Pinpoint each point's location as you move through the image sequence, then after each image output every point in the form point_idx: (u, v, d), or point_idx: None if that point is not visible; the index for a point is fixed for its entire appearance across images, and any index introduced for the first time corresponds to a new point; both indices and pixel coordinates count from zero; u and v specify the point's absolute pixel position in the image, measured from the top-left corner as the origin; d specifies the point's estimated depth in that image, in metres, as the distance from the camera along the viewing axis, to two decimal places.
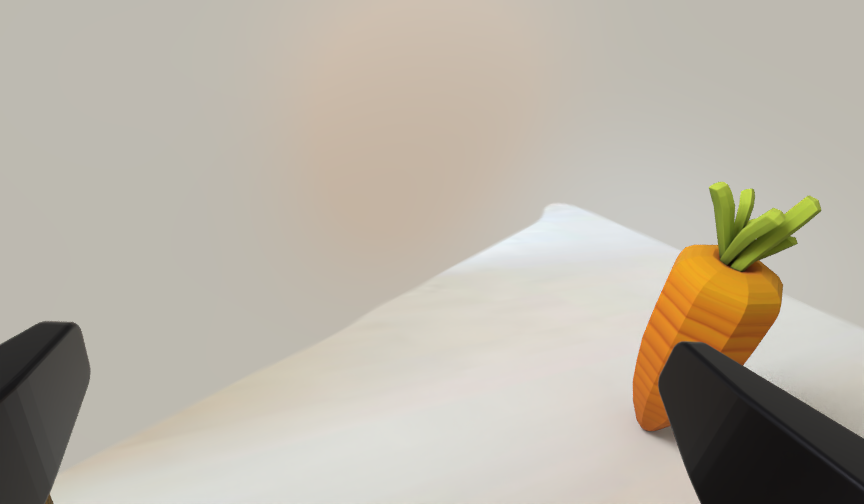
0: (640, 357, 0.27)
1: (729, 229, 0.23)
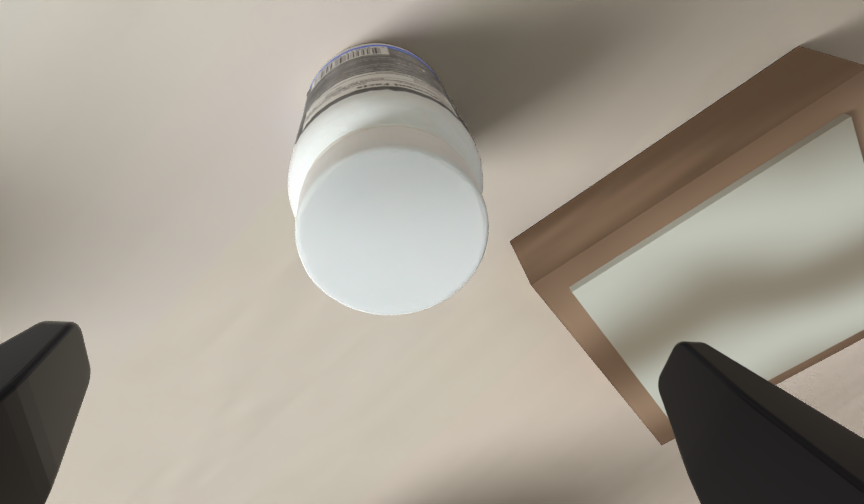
0: None
1: None
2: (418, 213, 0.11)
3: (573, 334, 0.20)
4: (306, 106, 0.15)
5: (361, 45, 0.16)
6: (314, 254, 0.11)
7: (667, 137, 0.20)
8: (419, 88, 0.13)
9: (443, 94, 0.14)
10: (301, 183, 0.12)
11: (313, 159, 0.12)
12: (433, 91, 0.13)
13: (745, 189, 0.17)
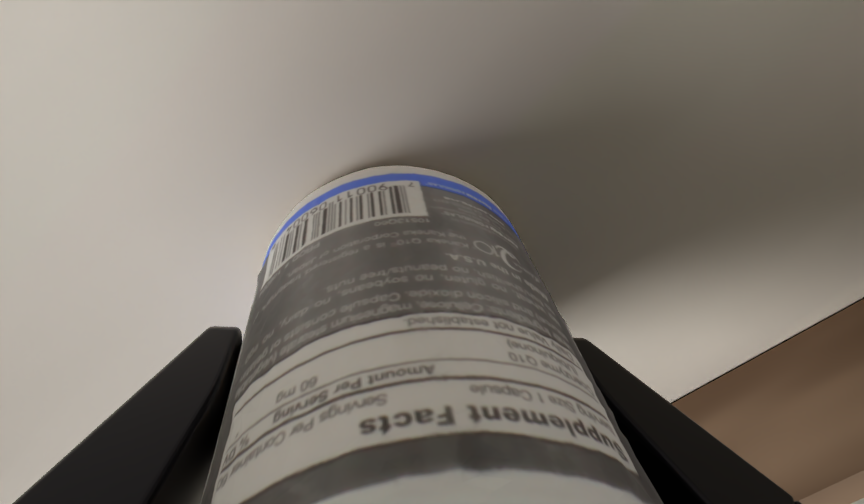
0: None
1: None
2: None
3: None
4: (245, 346, 0.07)
5: (367, 174, 0.08)
6: None
7: None
8: (534, 402, 0.05)
9: (564, 341, 0.06)
10: None
11: None
12: (559, 378, 0.05)
13: None
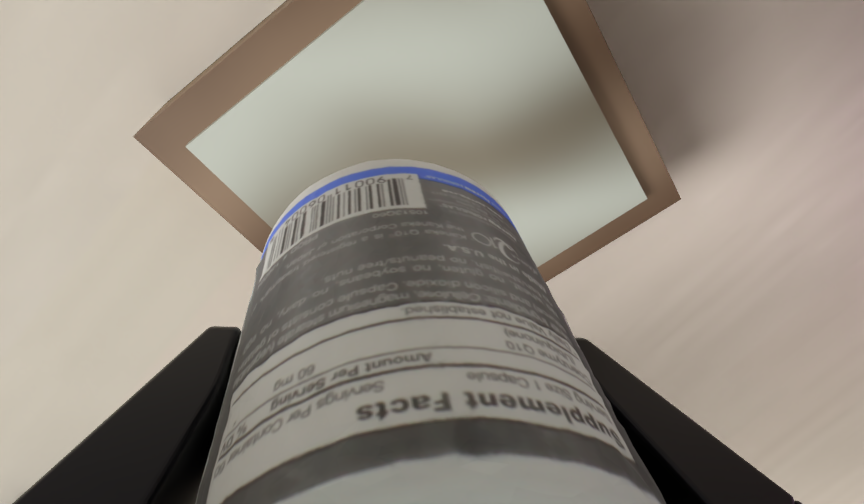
0: None
1: None
2: None
3: (221, 213, 0.16)
4: (244, 337, 0.07)
5: (365, 167, 0.08)
6: None
7: None
8: (531, 389, 0.05)
9: (561, 332, 0.06)
10: None
11: None
12: (556, 367, 0.05)
13: (375, 4, 0.13)
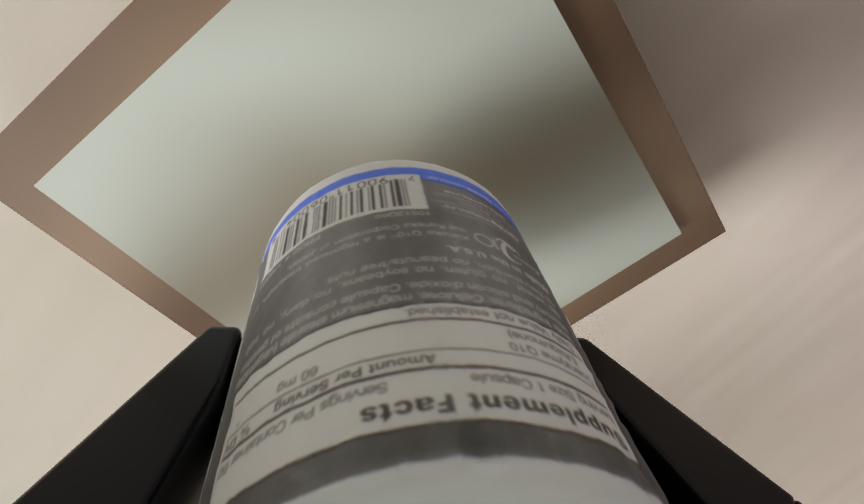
0: None
1: None
2: None
3: (103, 269, 0.12)
4: (246, 338, 0.07)
5: (367, 168, 0.08)
6: None
7: None
8: (534, 391, 0.05)
9: (564, 333, 0.06)
10: None
11: None
12: (559, 368, 0.05)
13: None
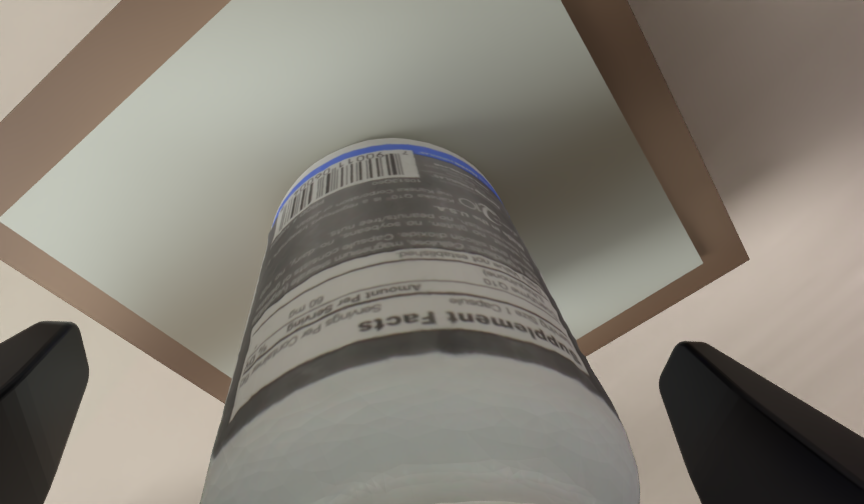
0: None
1: None
2: None
3: (78, 306, 0.11)
4: (259, 287, 0.07)
5: (366, 145, 0.09)
6: None
7: None
8: (502, 313, 0.05)
9: (534, 279, 0.07)
10: None
11: None
12: (526, 301, 0.06)
13: None
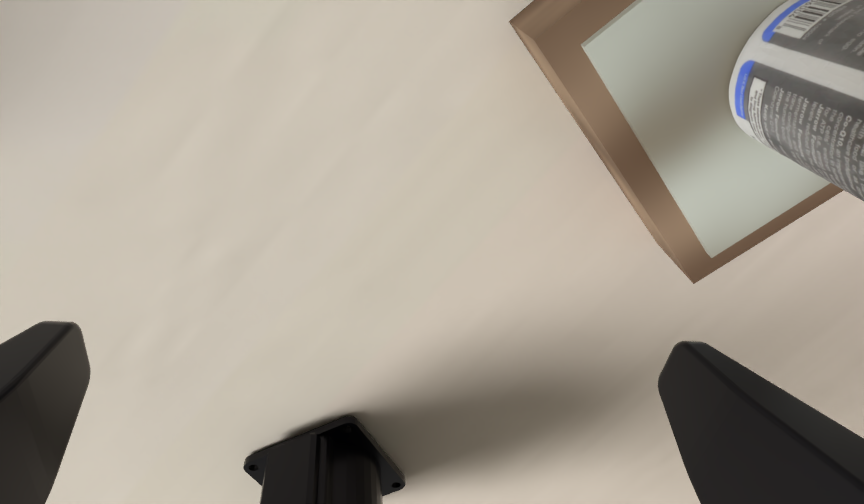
0: None
1: None
2: None
3: (587, 117, 0.17)
4: (825, 51, 0.13)
5: None
6: None
7: None
8: None
9: None
10: None
11: None
12: None
13: None
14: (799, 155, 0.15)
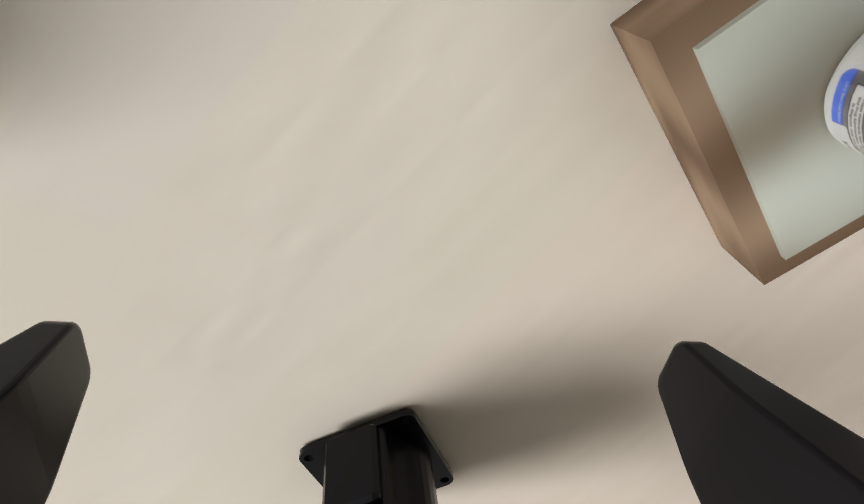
0: None
1: None
2: None
3: (688, 118, 0.18)
4: None
5: None
6: None
7: None
8: None
9: None
10: None
11: None
12: None
13: None
14: None
